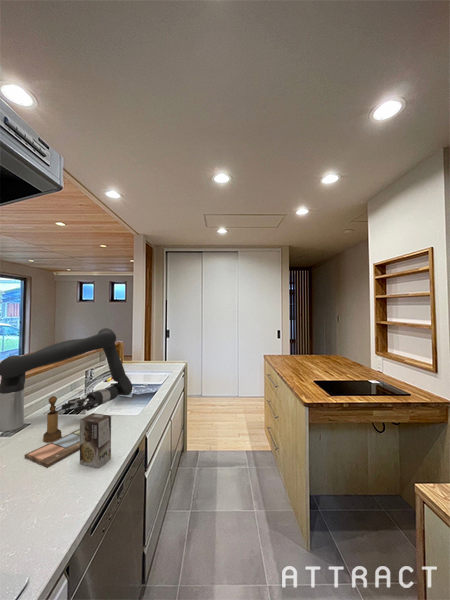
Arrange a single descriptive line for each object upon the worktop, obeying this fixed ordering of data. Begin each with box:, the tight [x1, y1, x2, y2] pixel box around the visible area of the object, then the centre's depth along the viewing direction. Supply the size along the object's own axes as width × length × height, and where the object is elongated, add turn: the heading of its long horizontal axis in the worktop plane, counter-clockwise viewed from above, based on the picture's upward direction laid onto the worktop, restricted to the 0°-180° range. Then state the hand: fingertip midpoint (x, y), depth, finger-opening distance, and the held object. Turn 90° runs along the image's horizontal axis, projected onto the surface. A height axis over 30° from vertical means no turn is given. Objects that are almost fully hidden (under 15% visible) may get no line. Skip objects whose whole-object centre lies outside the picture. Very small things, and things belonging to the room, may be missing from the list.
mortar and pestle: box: [42, 395, 62, 443], centre depth 114 cm, size 7×6×18 cm
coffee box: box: [79, 412, 112, 469], centre depth 98 cm, size 9×6×16 cm
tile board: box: [24, 428, 80, 468], centre depth 109 cm, size 14×27×2 cm, turn 155°
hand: (68, 409), depth 121 cm, fingers open, 8 cm apart
